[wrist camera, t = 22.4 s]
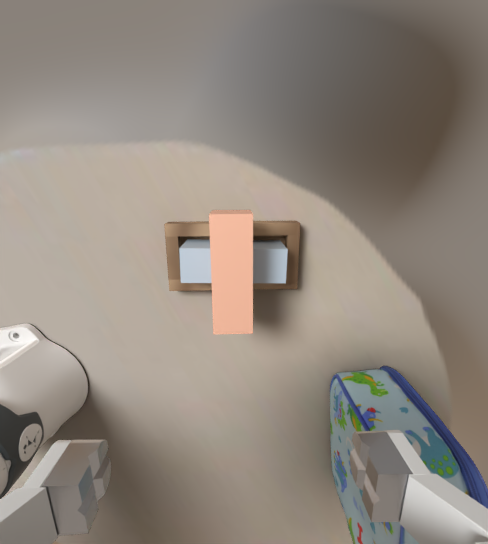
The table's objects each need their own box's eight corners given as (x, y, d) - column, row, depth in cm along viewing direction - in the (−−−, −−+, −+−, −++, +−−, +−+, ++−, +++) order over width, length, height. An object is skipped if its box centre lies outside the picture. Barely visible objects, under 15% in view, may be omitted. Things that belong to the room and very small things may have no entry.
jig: (173, 284, 41) (169, 290, 38) (168, 221, 38) (164, 224, 36) (293, 282, 41) (297, 288, 39) (295, 220, 39) (300, 222, 36)
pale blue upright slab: (188, 269, 40) (180, 282, 34) (187, 239, 38) (179, 248, 33) (278, 269, 40) (285, 283, 34) (279, 240, 39) (287, 249, 33)
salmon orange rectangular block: (212, 210, 32) (208, 214, 27) (250, 209, 32) (253, 213, 27) (216, 314, 35) (213, 334, 30) (250, 313, 35) (252, 333, 30)
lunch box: (390, 483, 52) (490, 671, 32) (329, 491, 52) (390, 683, 32) (393, 351, 45) (524, 485, 25) (322, 360, 45) (395, 501, 25)
